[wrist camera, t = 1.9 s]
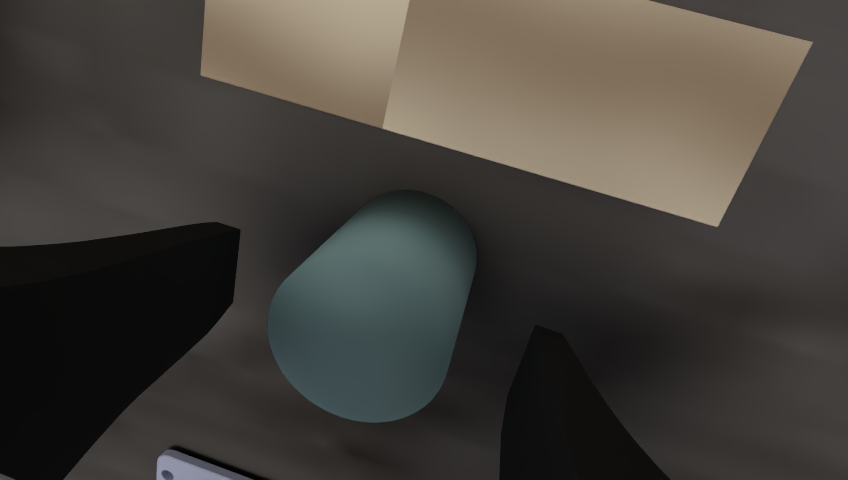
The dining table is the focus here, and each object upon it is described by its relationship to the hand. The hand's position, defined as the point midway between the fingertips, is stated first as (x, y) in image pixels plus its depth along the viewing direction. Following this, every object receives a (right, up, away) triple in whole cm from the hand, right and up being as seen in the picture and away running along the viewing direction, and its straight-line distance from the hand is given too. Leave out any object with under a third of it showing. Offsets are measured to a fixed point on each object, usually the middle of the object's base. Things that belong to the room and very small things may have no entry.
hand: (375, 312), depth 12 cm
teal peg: (+1, +1, +3) cm, 4 cm away
